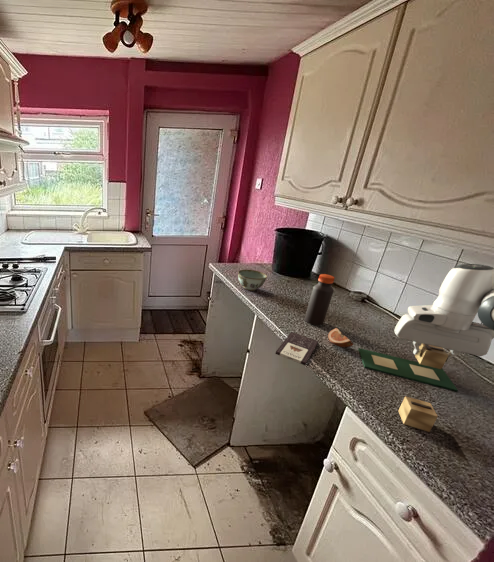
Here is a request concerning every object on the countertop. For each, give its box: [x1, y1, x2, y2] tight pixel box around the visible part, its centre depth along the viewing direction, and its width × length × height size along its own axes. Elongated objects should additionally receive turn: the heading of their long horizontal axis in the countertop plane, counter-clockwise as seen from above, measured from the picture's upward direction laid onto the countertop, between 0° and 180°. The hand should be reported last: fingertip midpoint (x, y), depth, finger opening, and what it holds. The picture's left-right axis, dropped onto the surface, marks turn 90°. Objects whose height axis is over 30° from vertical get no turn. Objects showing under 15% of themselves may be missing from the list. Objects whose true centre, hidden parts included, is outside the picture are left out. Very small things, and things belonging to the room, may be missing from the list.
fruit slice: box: [327, 327, 354, 348], centre depth 110 cm, size 8×7×5 cm
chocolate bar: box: [274, 331, 319, 366], centre depth 108 cm, size 9×1×18 cm
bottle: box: [304, 273, 335, 327], centre depth 123 cm, size 7×7×20 cm
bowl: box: [237, 269, 268, 292], centre depth 157 cm, size 14×13×8 cm
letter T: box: [414, 343, 448, 369], centre depth 95 cm, size 5×5×5 cm
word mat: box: [357, 347, 459, 392], centre depth 99 cm, size 22×12×1 cm, turn 62°
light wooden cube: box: [397, 396, 439, 433], centre depth 78 cm, size 5×5×5 cm
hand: (429, 357), depth 95 cm, fingers closed on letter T, 5 cm apart
